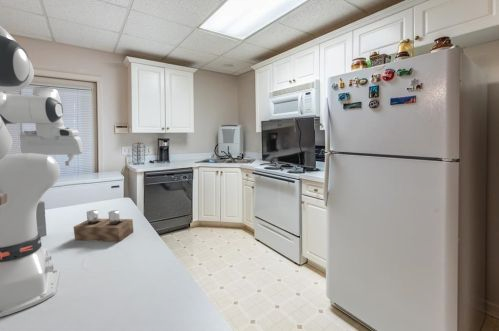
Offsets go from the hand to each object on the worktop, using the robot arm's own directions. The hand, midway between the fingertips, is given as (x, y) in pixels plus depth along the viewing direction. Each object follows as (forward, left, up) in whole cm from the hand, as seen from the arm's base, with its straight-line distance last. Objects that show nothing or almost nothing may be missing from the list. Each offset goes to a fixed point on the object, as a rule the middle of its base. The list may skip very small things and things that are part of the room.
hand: (55, 165), depth 101 cm
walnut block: (-7, -13, -32) cm, 35 cm away
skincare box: (+16, +9, -32) cm, 37 cm away
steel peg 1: (-3, -10, -27) cm, 29 cm away
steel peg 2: (-11, -17, -27) cm, 33 cm away
